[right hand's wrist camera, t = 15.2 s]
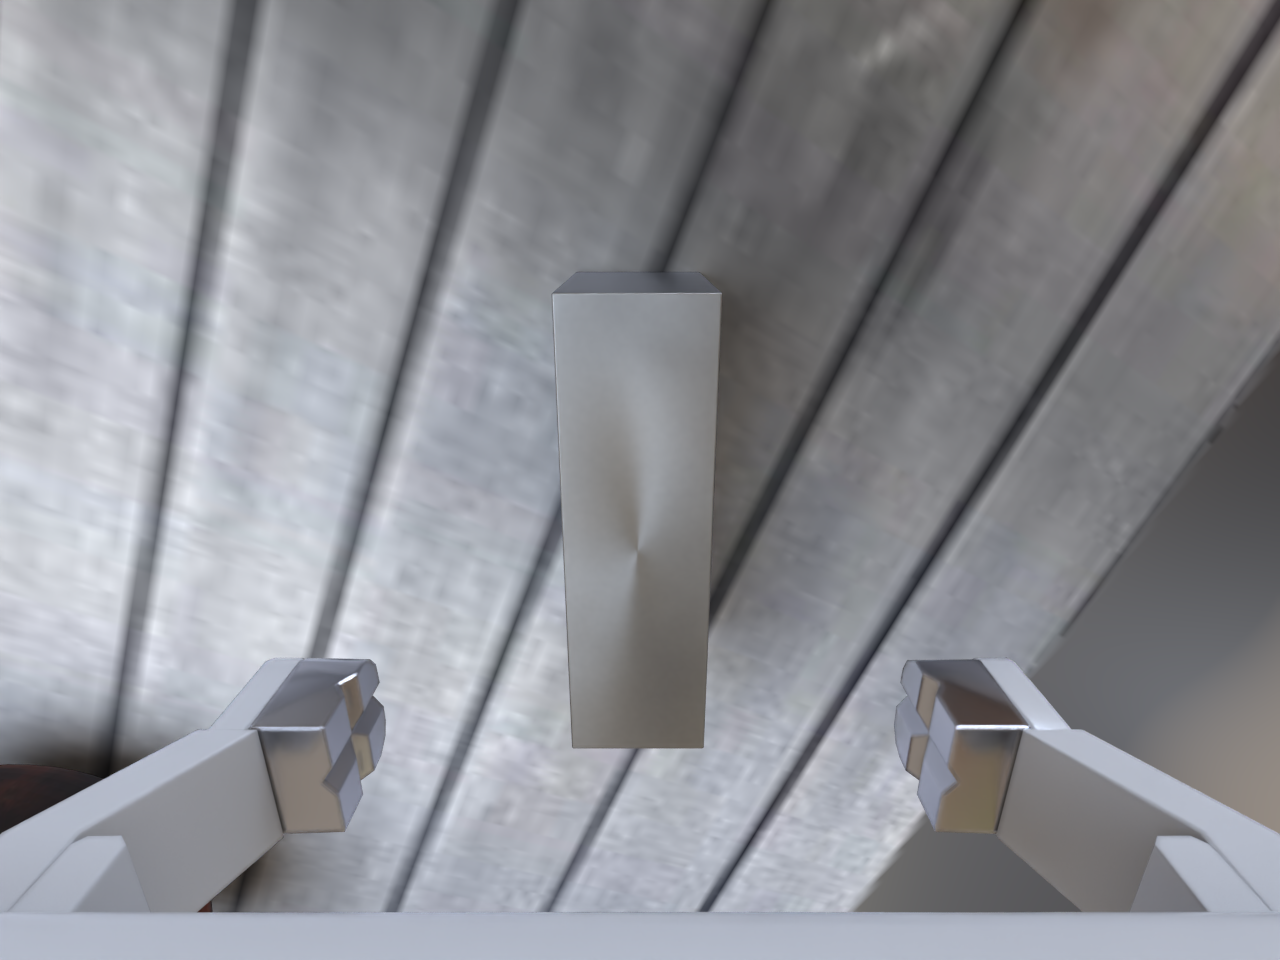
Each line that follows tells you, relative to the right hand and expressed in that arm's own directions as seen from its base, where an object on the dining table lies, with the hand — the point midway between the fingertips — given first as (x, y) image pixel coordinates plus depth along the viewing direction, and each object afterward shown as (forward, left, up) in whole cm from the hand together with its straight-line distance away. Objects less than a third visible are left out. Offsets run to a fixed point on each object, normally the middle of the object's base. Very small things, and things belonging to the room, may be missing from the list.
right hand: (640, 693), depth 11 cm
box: (+6, -1, -27) cm, 28 cm away
